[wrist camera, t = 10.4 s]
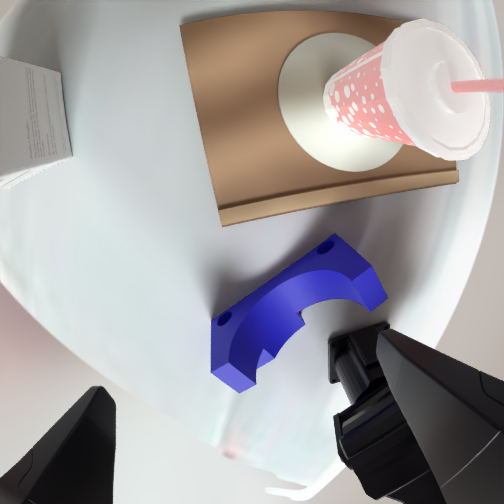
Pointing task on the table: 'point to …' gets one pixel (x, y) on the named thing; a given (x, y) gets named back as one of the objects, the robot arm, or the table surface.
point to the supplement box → (30, 121)
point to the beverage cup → (415, 92)
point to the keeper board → (291, 114)
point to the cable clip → (287, 309)
